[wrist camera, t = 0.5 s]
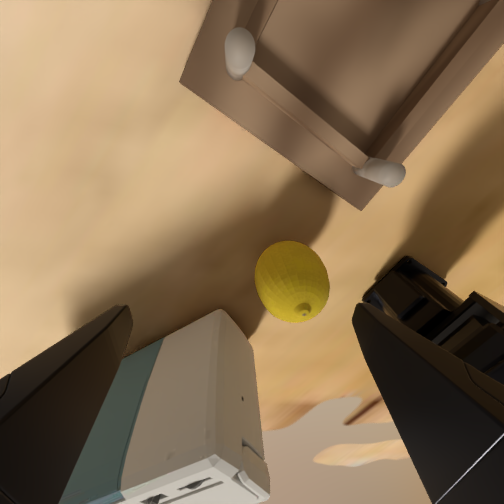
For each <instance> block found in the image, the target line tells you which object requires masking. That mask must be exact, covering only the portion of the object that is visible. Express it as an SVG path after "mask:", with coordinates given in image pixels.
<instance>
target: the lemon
mask: <svg viewBox="0 0 504 504" xmlns="http://www.w3.org/2000/svg"><path fill="white" fill-rule="evenodd" d="M255 285H256V290H257V293H258V296H259V298H260V299H261V301H262V303H263V304H264V306H265V308H266V309H267V310H268V311H269V312H270V313H271V314H272V315H274V316H275V317H277V318H279V319H281V320H283V321H287V322H294V323H298V322H304V321H307V320H310V319H311V318H313V317H315V316H316V315H317V314H318V313H320V312H321V310H322V309H323V308H324V306H325V305H326V302H327V300H328V297H329V289H330V285H329V279H328V274H327V270H326V268H325V266H324V264H323V262H322V261H321V259H320V257H319V256H318V255H317V254H316V253H315V252H314V251H313V250H312V249H311V248H309V247H308V246H306V245H304V244H302V243H300V242H296V241H281V242H277V243H275V244H273V245H271V246H269V247H268V248H267V249H266V250H265V251H264V252H263V253H262V254H261V256H260V257H259V259H258V262H257V264H256V267H255Z"/></svg>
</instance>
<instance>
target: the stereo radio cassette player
mask: <svg viewBox="0 0 504 504" xmlns="http://www.w3.org/2000/svg"><path fill="white" fill-rule="evenodd" d="M269 496H270V477H269V472H268V468H267V464H266V463H265V462H264V449H263V440H262V430H261V420H260V411H259V401H258V392H257V382H256V373H255V363H254V354H253V348H252V346H251V344H250V343H249V341H248V340H247V338H246V337H245V335H244V334H243V332H242V331H241V330H240V328H239V327H238V326H237V324H236V323H235V322H234V321H233V320H232V319H231V317H230V316H229V315H228V314H227V313H226V312H225V311H224V310H222V309H217V310H215V311H213V312H211V313H210V314H208V315H206V316H204V317H202V318H200V319H198V320H196V321H194V322H192V323H191V324H189V325H187V326H185V327H183V328H181V329H179V330H177V331H175V332H173V333H172V334H170V335H168V336H166V337H164V338H162V339H160V340H158V341H156V342H154V343H152V344H150V345H148V346H147V347H145V348H143V349H141V350H139V351H137V352H135V353H133V354H131V355H129V356H127V357H126V358H124V359H122V361H121V364H120V366H119V369H118V371H117V373H116V376H115V378H114V380H113V382H112V385H111V387H110V389H109V391H108V394H107V396H106V398H105V400H104V403H103V405H102V407H101V409H100V412H99V414H98V416H97V418H96V421H95V423H94V425H93V427H92V430H91V432H90V434H89V436H88V439H87V441H86V443H85V445H84V448H83V450H82V452H81V454H80V457H79V459H78V461H77V463H76V466H75V468H74V470H73V472H72V475H71V477H70V479H69V481H68V484H67V486H66V488H65V490H64V493H63V495H62V497H61V499H60V502H59V504H257V503H260V502H263V501H266V500H268V498H269Z"/></svg>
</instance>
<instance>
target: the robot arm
mask: <svg viewBox="0 0 504 504" xmlns="http://www.w3.org/2000/svg"><path fill="white" fill-rule="evenodd" d="M407 261H408V262H407ZM446 285H447V281H445V280H444V279H442V278H441V277H439V276H438V275H437V274H435V273H434V272H432V271H431V270H429V269H428V268H426V267H425V266H423V265H422V264H421V263H419V262H418V261H416V260H415V259H413V258H412V257H410V256H406V257H404V258H403V259H402V260H401V261H400V262H399V263H398V264H397V265H396V266H395V267H394V268H393V269H392V270H391V271H390V272H389V273H388V274H387V275H386V276H385V277H384V278H383V279H382V280H381V281H380V282H379V283H378V284H377V285H376V286H375V287H374V288H373V289H372V290H371V291H370V292H368V293H367V294H366V295H365V296H364V297H363V299H362V301H363V303H358V304H357V305H356V307H355V310H354V314H353V317H352V324H353V327H354V330H355V333H356V335H357V338H358V341H359V344H360V347H361V350H362V353H363V356H364V358H365V361H366V363H367V365H368V367H369V369H370V372H371V374H372V376H373V378H374V380H375V382H376V384H377V387H378V389H379V391H380V393H381V395H382V397H383V399H384V402H385V404H386V406H387V408H388V410H389V412H390V414H391V417H392V419H393V421H394V423H395V425H396V427H397V429H398V432H399V434H400V436H401V438H402V440H403V442H404V444H405V447H406V449H407V451H408V453H409V455H410V457H411V459H412V461H413V464H414V466H415V468H416V470H417V472H418V474H419V476H420V479H421V481H422V483H423V485H424V487H425V489H426V491H427V494H428V496H429V498H430V500H431V502H432V504H504V306H502V305H500V304H498V303H496V302H494V301H492V300H491V299H489V298H487V297H485V296H483V295H481V294H479V293H477V292H475V291H473V292H472V293H471V294H470V295H469V298H467V299H466V300H465V301H463V300H462V299H461V298H459V297H458V296H457V295H455V294H454V293H453V292H451V291H450V290H449V289H447V288H446ZM367 300H368V301H367ZM132 326H133V320H132V316H131V312H130V308H129V306H128V305H115V306H114V307H112V308H111V309H109V310H107V311H106V312H104V313H103V314H101V315H100V316H98V317H96V318H95V319H93V320H92V321H90V322H89V323H87V324H86V325H84V326H82V327H81V328H79V329H78V330H76V331H75V332H73V333H72V334H70V335H68V336H67V337H65V338H64V339H62V340H61V341H59V342H57V343H56V344H54V345H53V346H51V347H50V348H48V349H47V350H45V351H43V352H42V353H40V354H39V355H37V356H36V357H34V358H32V359H31V360H29V361H28V362H26V363H25V364H23V365H22V366H20V367H18V368H17V369H15V370H14V371H12V372H11V374H7V375H6V376H4V377H3V378H1V379H0V504H59V502H60V499H61V497H62V495H63V493H64V490H65V488H66V486H67V484H68V481H69V479H70V477H71V475H72V472H73V470H74V468H75V466H76V463H77V461H78V459H79V457H80V454H81V452H82V450H83V448H84V445H85V443H86V441H87V439H88V436H89V434H90V432H91V430H92V427H93V425H94V423H95V421H96V418H97V416H98V414H99V412H100V409H101V407H102V405H103V403H104V400H105V398H106V396H107V394H108V391H109V389H110V387H111V385H112V382H113V380H114V378H115V376H116V373H117V371H118V369H119V366H120V364H121V361H122V358H123V355H124V352H125V349H126V345H127V342H128V339H129V336H130V333H131V330H132Z"/></svg>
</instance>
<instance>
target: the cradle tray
mask: <svg viewBox="0 0 504 504" xmlns="http://www.w3.org/2000/svg"><path fill="white" fill-rule="evenodd" d="M503 44H504V0H213V1H212V3H211V6H210V8H209V10H208V13H207V15H206V18H205V20H204V23H203V25H202V27H201V30H200V32H199V35H198V37H197V40H196V42H195V44H194V47H193V49H192V52H191V54H190V56H189V59H188V61H187V64H186V66H185V69H184V71H183V73H182V76H181V78H180V81H179V82H180V83H181V84H182V85H184V86H185V87H186V88H188V89H189V90H191V91H192V92H193V93H195V94H196V95H198V96H199V97H201V98H202V99H203V100H205V101H206V102H208V103H209V104H210V105H212V106H213V107H215V108H216V109H217V110H219V111H220V112H222V113H223V114H225V115H226V116H227V117H229V118H230V119H232V120H233V121H234V122H236V123H237V124H239V125H240V126H241V127H243V128H244V129H246V130H247V131H248V132H250V133H251V134H253V135H254V136H256V137H257V138H258V139H260V140H261V141H263V142H264V143H265V144H267V145H268V146H270V147H271V148H272V149H274V150H275V151H277V152H278V153H279V154H281V155H282V156H284V157H285V158H287V159H288V160H289V161H291V162H292V163H294V164H295V165H296V166H298V167H299V168H301V169H302V170H303V171H305V172H306V173H308V174H309V175H310V176H312V177H313V178H315V179H316V180H318V181H319V182H320V183H322V184H323V185H325V186H326V187H327V188H329V189H330V190H332V191H333V192H334V193H336V194H337V195H339V196H340V197H341V198H343V199H344V200H346V201H347V202H349V203H350V204H351V205H353V206H354V207H356V208H357V209H359V210H360V211H362V210H363V208H364V207H365V206H366V205H367V204H368V203H369V201H370V200H371V199H372V198H373V197H374V196H375V194H376V193H377V192H378V191H379V190H380V188H381V187H382V186H383V185H384V186H387V187H395V186H397V185H398V184H400V183H401V182H402V180H403V179H404V177H405V173H406V170H405V167H404V166H403V165H402V163H403V161H404V160H405V159H406V158H407V157H408V156H409V154H410V153H411V152H412V151H413V150H414V148H415V147H416V146H417V145H418V144H419V143H420V141H421V140H422V139H423V138H424V137H425V136H426V134H427V133H428V132H429V131H430V130H431V128H432V127H433V126H434V125H435V124H436V123H437V121H438V120H439V119H440V118H441V117H442V115H443V114H444V113H445V112H446V111H447V110H448V108H449V107H450V106H451V105H452V104H453V103H454V101H455V100H456V99H457V98H458V97H459V95H460V94H461V93H462V92H463V91H464V90H465V88H466V87H467V86H468V85H469V84H470V83H471V81H472V80H473V79H474V78H475V77H476V75H477V74H478V73H479V72H480V71H481V70H482V68H483V67H484V66H485V65H486V64H487V63H488V61H489V60H490V59H491V58H492V57H493V55H494V54H495V53H496V52H497V51H498V50H499V48H500V47H501V46H502V45H503Z"/></svg>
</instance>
